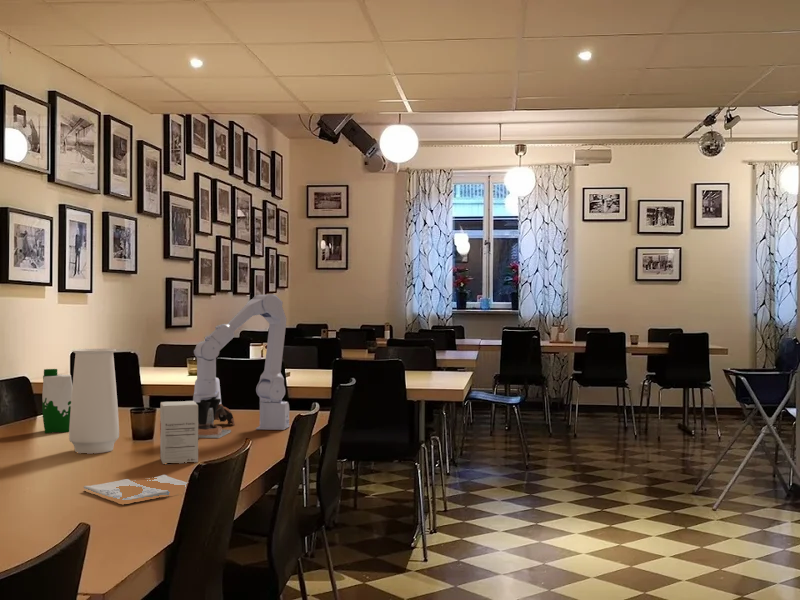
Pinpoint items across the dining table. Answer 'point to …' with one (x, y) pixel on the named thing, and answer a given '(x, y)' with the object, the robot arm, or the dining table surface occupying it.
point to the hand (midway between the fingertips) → (206, 423)
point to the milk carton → (56, 401)
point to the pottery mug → (224, 415)
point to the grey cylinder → (208, 420)
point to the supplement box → (178, 432)
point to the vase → (94, 402)
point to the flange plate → (212, 432)
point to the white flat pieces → (114, 492)
